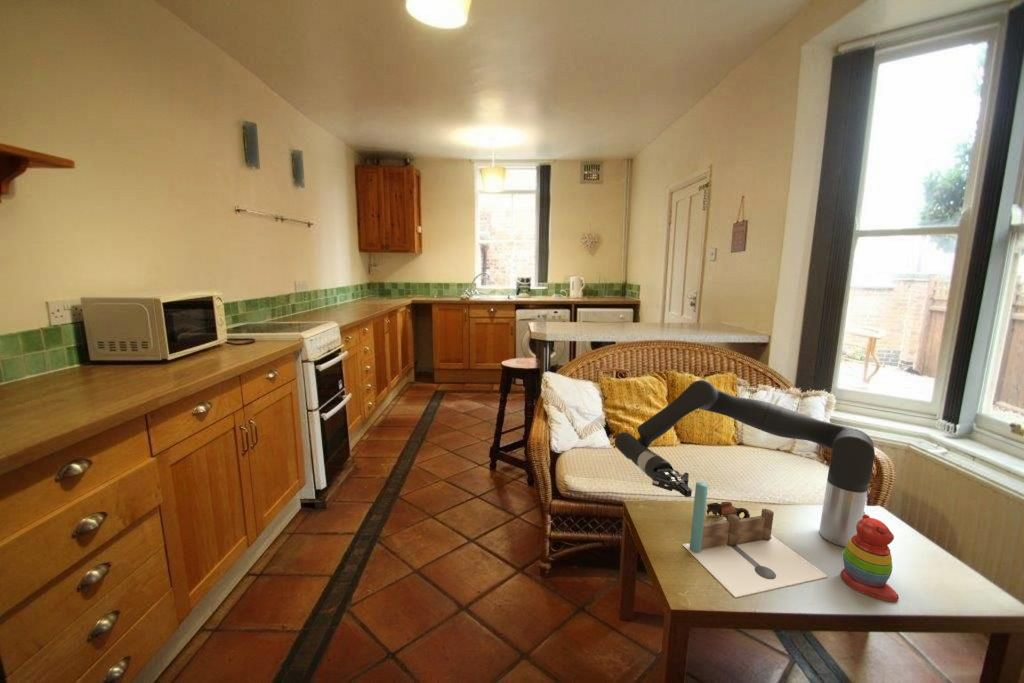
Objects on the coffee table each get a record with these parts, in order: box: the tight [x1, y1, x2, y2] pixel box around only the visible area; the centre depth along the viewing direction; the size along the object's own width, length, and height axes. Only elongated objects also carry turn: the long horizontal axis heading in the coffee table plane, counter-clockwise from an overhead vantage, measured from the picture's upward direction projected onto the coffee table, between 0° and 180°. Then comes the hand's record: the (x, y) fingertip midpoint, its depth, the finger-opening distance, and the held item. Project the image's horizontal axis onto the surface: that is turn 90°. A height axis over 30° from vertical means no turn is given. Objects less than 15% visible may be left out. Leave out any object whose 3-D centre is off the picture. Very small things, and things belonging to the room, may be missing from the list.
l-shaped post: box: [689, 481, 730, 552], centre depth 116 cm, size 12×3×20 cm, turn 105°
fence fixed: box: [726, 508, 775, 547], centre depth 121 cm, size 15×3×8 cm, turn 105°
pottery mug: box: [706, 501, 751, 520], centre depth 130 cm, size 12×10×8 cm
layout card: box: [682, 534, 829, 599], centre depth 114 cm, size 29×20×1 cm
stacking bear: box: [840, 513, 900, 603], centre depth 104 cm, size 11×10×18 cm
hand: (689, 493), depth 119 cm, fingers closed
